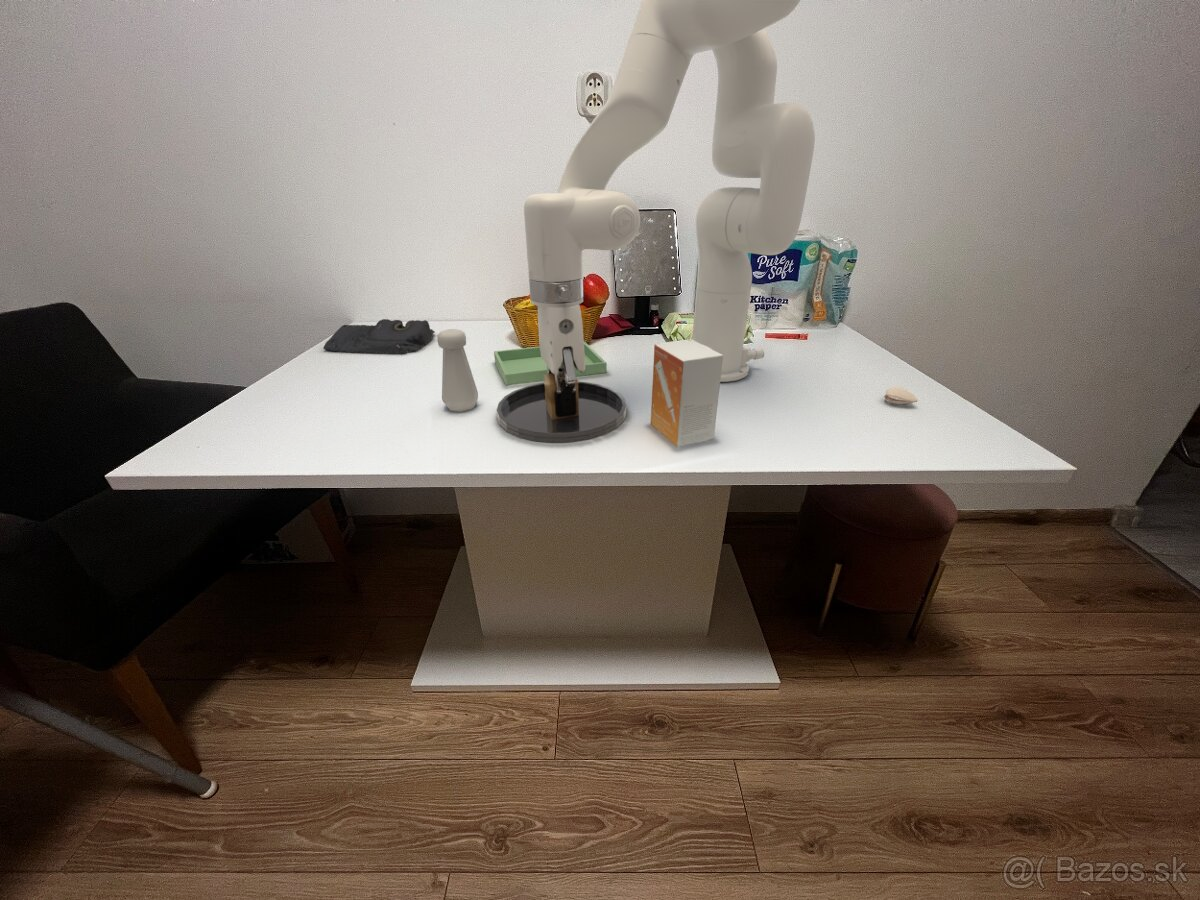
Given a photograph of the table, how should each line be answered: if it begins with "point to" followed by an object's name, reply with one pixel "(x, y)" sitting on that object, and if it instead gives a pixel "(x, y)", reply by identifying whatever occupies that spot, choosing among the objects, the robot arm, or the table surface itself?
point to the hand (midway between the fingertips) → (562, 408)
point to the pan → (532, 421)
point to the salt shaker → (456, 372)
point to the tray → (539, 365)
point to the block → (550, 397)
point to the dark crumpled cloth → (381, 337)
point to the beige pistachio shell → (899, 396)
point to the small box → (685, 391)
